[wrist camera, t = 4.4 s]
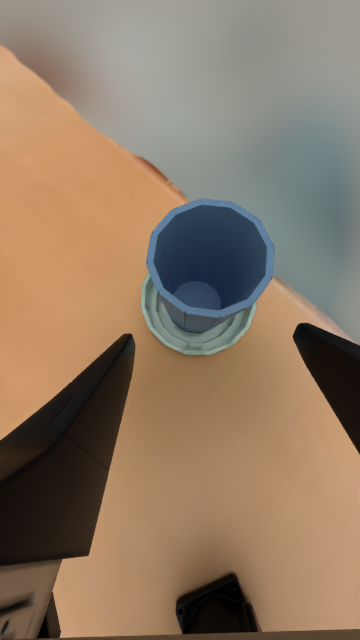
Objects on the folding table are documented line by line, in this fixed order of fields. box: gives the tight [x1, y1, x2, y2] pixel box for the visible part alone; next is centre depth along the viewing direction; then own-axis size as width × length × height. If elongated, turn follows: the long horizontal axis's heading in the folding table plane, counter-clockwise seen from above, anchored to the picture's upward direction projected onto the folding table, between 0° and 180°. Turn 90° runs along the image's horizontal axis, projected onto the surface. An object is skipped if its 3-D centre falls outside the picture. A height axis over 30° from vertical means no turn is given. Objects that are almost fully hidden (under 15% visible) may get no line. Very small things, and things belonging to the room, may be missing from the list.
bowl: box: [141, 272, 256, 355], centre depth 18 cm, size 11×11×4 cm
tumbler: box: [146, 199, 274, 333], centre depth 14 cm, size 7×7×12 cm
